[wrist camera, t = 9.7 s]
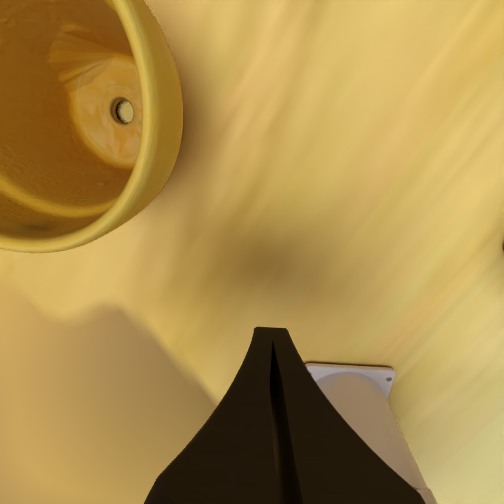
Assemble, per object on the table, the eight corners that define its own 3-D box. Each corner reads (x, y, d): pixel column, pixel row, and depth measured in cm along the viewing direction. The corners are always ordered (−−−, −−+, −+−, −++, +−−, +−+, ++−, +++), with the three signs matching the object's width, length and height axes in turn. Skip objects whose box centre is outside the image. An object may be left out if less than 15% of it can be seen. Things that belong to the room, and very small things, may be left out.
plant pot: (24, -2, 15) (-351, -216, 6) (215, 16, 15) (143, -167, 6) (61, 191, 19) (-122, 243, 10) (210, 204, 19) (164, 269, 10)
